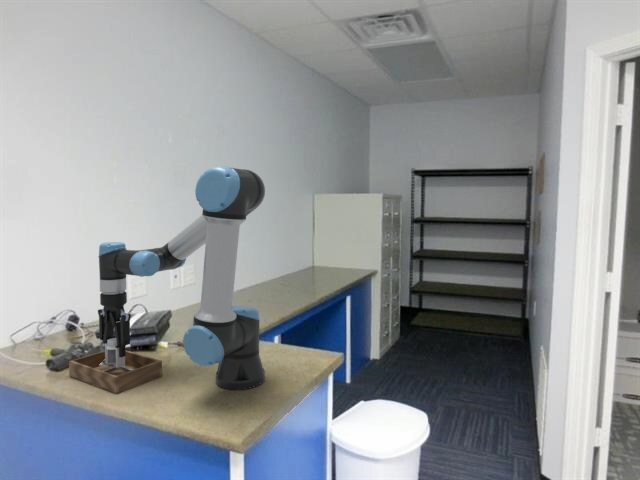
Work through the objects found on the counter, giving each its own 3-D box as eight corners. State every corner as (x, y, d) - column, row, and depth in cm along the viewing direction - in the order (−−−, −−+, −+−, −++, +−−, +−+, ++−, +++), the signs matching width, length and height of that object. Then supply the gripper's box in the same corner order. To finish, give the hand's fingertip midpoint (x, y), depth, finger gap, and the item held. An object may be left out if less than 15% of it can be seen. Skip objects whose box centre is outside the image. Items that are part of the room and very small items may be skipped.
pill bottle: (126, 365, 141) (125, 339, 140) (111, 369, 137) (110, 343, 137) (118, 361, 144) (118, 336, 143) (104, 365, 140) (103, 339, 140)
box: (162, 376, 141) (161, 360, 141) (116, 394, 128) (115, 377, 127) (115, 361, 154) (115, 347, 154) (69, 376, 140) (68, 361, 140)
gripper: (142, 293, 137) (143, 366, 139) (107, 286, 146) (109, 355, 148) (120, 297, 131) (122, 374, 133) (85, 290, 140) (87, 362, 142)
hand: (115, 364), depth 141 cm, fingers closed on pill bottle, 5 cm apart
